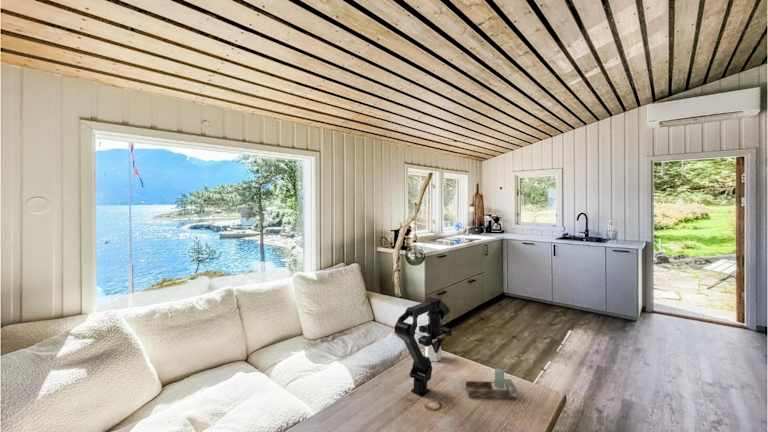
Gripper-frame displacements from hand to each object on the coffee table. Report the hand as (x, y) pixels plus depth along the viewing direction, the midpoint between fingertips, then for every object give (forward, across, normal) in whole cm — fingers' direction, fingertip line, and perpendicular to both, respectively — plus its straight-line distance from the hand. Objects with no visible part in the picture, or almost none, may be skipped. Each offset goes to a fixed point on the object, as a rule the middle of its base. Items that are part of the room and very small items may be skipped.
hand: (436, 352), depth 159 cm
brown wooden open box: (+14, -9, +24) cm, 29 cm away
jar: (+15, -14, -16) cm, 26 cm away
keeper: (+12, -12, +27) cm, 32 cm away
